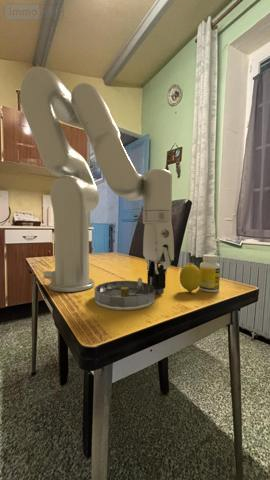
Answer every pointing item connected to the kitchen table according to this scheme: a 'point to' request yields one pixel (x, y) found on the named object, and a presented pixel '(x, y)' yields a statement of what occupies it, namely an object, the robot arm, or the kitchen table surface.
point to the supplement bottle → (210, 274)
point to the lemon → (190, 277)
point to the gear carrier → (124, 295)
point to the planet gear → (157, 291)
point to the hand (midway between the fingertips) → (156, 285)
